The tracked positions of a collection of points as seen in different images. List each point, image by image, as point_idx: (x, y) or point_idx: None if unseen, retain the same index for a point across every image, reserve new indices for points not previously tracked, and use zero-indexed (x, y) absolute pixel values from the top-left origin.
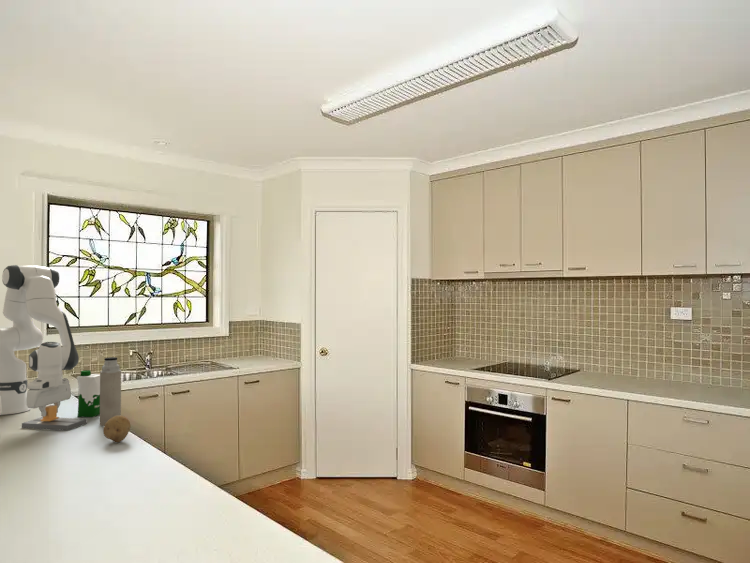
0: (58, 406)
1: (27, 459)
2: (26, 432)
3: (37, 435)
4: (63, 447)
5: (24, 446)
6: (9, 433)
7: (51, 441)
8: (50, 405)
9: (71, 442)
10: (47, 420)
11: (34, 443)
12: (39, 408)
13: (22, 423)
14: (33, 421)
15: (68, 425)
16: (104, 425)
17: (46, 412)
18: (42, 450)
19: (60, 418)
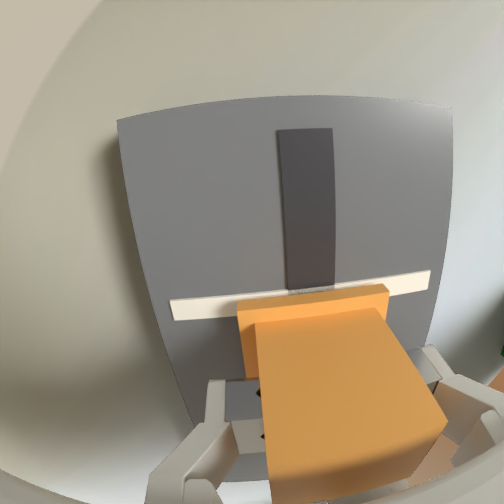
0: (450, 430)
1: (11, 465)
2: (69, 304)
3: (82, 405)
4: (88, 496)
5: (12, 430)
6: (4, 205)
7: (87, 471)
8: (420, 441)
9: (122, 501)
10: (247, 377)
11: (40, 442)
12: (152, 481)
13: (118, 132)
14: (232, 183)
15: (230, 480)
16: None
17: (242, 447)
18: (44, 473)
19: (402, 343)
